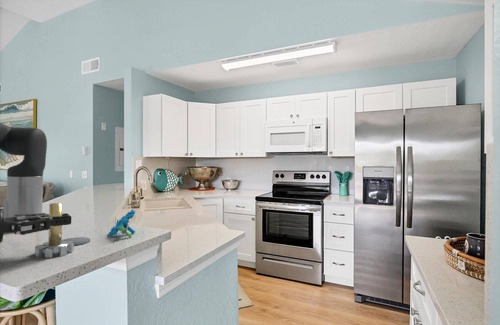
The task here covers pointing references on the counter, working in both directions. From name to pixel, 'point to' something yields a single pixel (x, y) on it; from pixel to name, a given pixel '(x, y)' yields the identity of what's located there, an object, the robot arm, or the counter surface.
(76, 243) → the pad
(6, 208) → the robot arm
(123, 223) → the blue splat disc
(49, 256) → the gear
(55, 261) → the counter surface
